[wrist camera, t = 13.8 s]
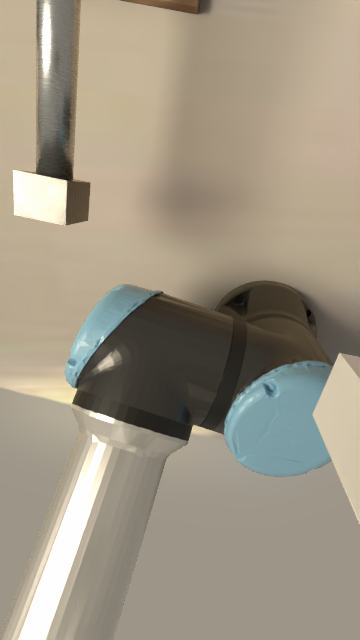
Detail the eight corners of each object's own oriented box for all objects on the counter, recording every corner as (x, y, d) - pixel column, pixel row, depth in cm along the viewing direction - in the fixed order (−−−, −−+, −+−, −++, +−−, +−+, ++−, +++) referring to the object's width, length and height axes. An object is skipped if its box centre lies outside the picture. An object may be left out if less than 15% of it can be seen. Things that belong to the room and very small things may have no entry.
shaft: (114, -190, 21) (85, -300, 16) (87, 220, 31) (65, 225, 26) (48, -201, 21) (1, -313, 16) (44, 211, 31) (14, 214, 27)
